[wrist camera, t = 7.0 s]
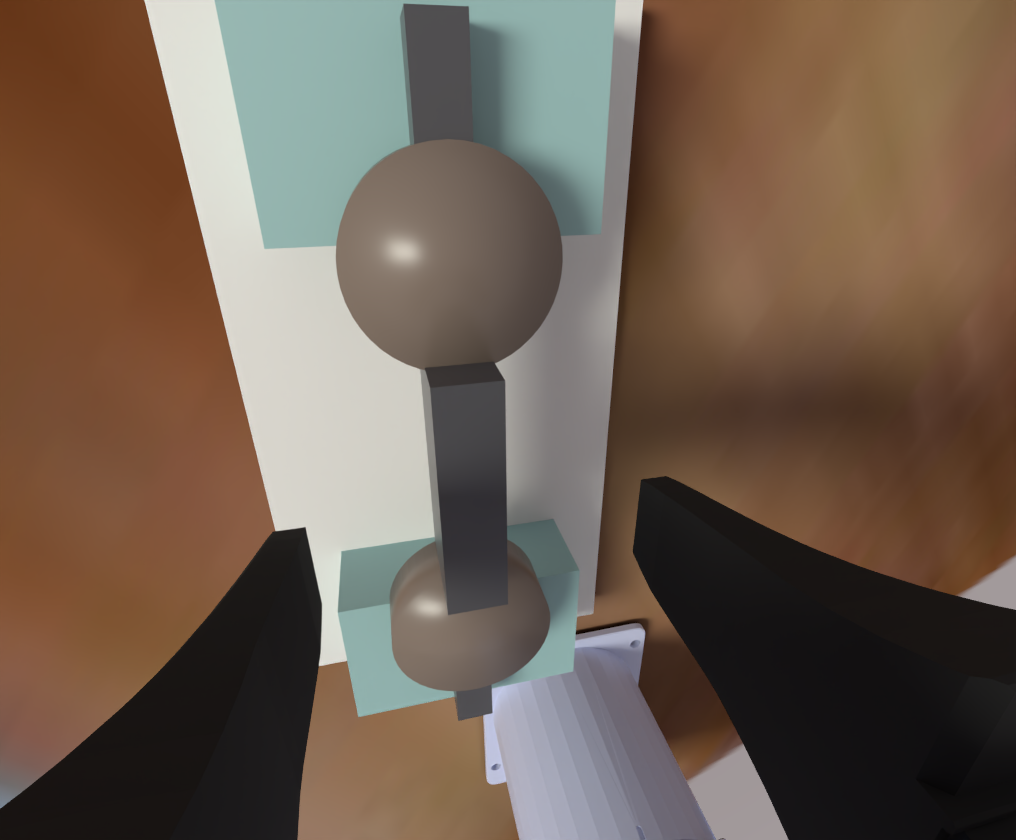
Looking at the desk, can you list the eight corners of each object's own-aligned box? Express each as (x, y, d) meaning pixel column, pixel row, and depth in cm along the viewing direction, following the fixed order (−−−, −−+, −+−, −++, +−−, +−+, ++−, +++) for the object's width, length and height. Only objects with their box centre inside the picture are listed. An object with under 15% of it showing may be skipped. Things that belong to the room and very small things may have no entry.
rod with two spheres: (533, 673, 20) (557, 750, 18) (403, 701, 19) (409, 786, 17) (543, 23, 12) (596, -15, 9) (305, 13, 11) (286, -31, 8)
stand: (585, 597, 25) (620, 669, 22) (311, 647, 23) (301, 738, 19) (627, 5, 15) (704, -37, 12) (153, -16, 13) (73, -78, 9)
